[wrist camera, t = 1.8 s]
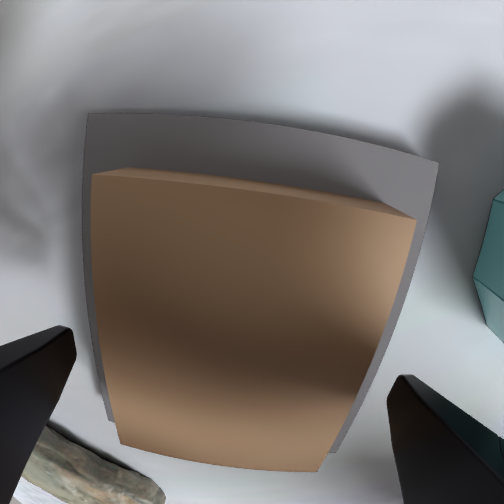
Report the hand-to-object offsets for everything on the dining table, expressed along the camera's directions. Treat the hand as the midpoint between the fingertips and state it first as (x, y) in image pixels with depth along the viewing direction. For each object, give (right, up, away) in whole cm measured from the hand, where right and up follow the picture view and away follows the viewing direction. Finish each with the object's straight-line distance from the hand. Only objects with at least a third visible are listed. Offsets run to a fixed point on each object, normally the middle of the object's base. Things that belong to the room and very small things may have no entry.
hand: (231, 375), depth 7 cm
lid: (0, +1, +2) cm, 2 cm away
